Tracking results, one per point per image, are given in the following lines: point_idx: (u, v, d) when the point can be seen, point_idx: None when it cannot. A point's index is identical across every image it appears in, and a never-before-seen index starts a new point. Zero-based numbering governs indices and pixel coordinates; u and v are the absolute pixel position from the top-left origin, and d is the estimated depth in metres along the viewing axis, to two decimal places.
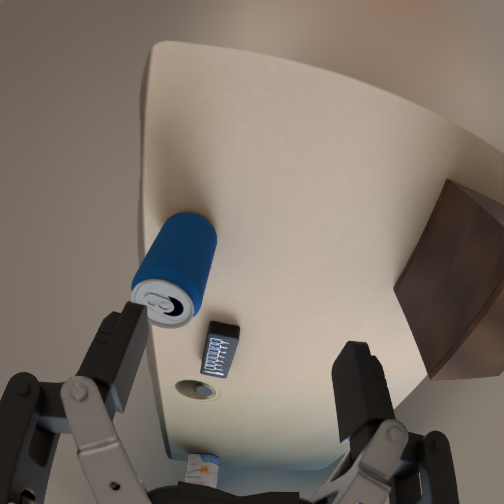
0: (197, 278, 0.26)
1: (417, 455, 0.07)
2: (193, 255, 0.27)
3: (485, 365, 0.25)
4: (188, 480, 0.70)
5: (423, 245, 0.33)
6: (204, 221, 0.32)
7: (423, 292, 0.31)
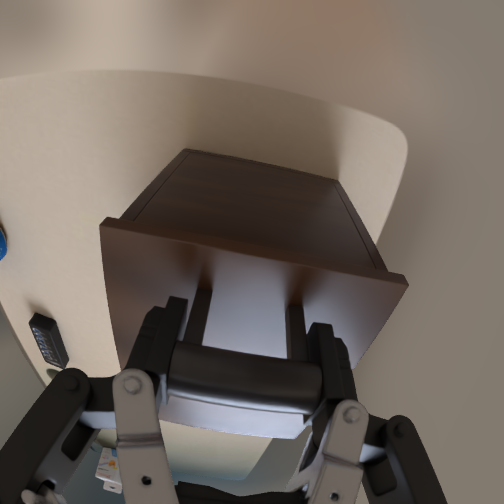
0: None
1: (380, 439, 0.08)
2: None
3: (229, 421, 0.20)
4: (98, 472, 0.65)
5: None
6: None
7: None
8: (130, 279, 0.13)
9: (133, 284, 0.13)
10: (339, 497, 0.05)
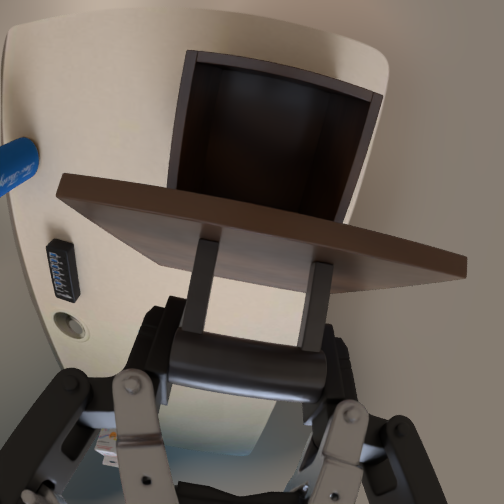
0: None
1: (380, 439, 0.08)
2: None
3: (253, 281, 0.23)
4: (98, 445, 0.67)
5: None
6: (28, 140, 0.31)
7: None
8: (117, 224, 0.10)
9: (123, 226, 0.10)
10: (339, 497, 0.05)
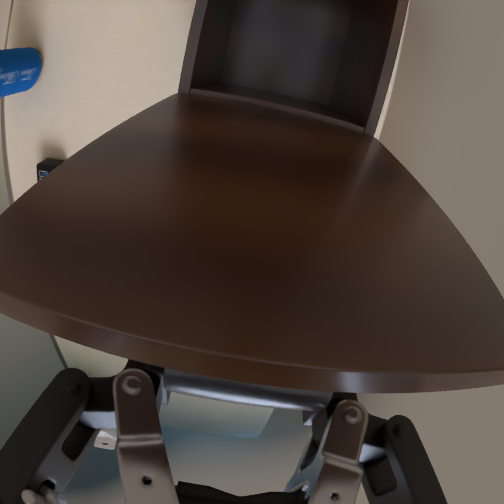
0: None
1: (380, 439, 0.08)
2: (1, 52, 0.19)
3: None
4: None
5: None
6: (32, 48, 0.24)
7: None
8: None
9: None
10: (339, 496, 0.05)
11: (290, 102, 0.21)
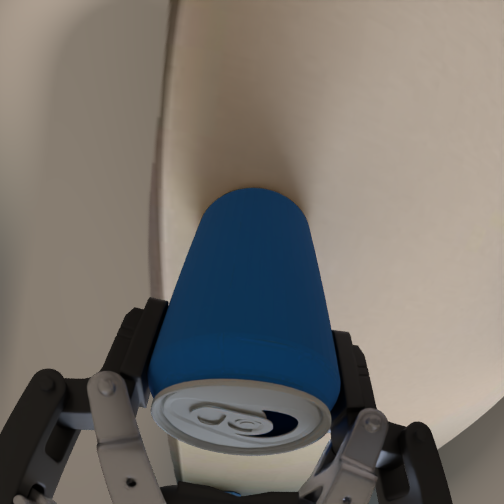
0: (334, 350, 0.09)
1: (398, 446, 0.08)
2: (310, 287, 0.10)
3: None
4: None
5: None
6: (293, 206, 0.16)
7: None
8: None
9: None
10: (352, 501, 0.05)
11: None
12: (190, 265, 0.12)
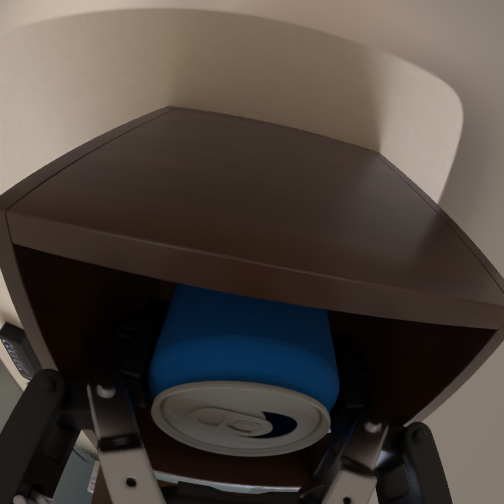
0: (333, 351, 0.09)
1: (398, 446, 0.08)
2: None
3: None
4: (90, 487, 0.57)
5: None
6: None
7: None
8: None
9: None
10: (351, 501, 0.05)
11: None
12: None
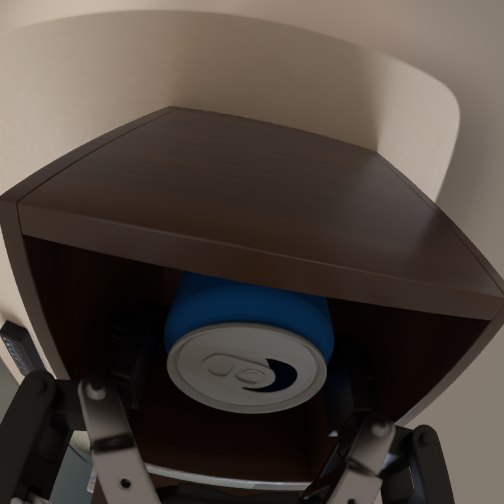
0: (327, 309, 0.11)
1: (405, 448, 0.07)
2: None
3: None
4: (90, 486, 0.57)
5: None
6: None
7: None
8: None
9: None
10: (356, 503, 0.05)
11: (233, 428, 0.17)
12: None
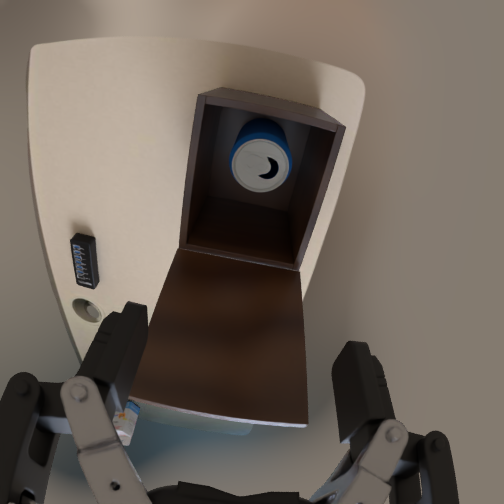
0: None
1: (417, 455, 0.07)
2: (281, 135, 0.31)
3: None
4: None
5: None
6: None
7: None
8: None
9: None
10: None
11: (250, 238, 0.36)
12: (241, 132, 0.32)
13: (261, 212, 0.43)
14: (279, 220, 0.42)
